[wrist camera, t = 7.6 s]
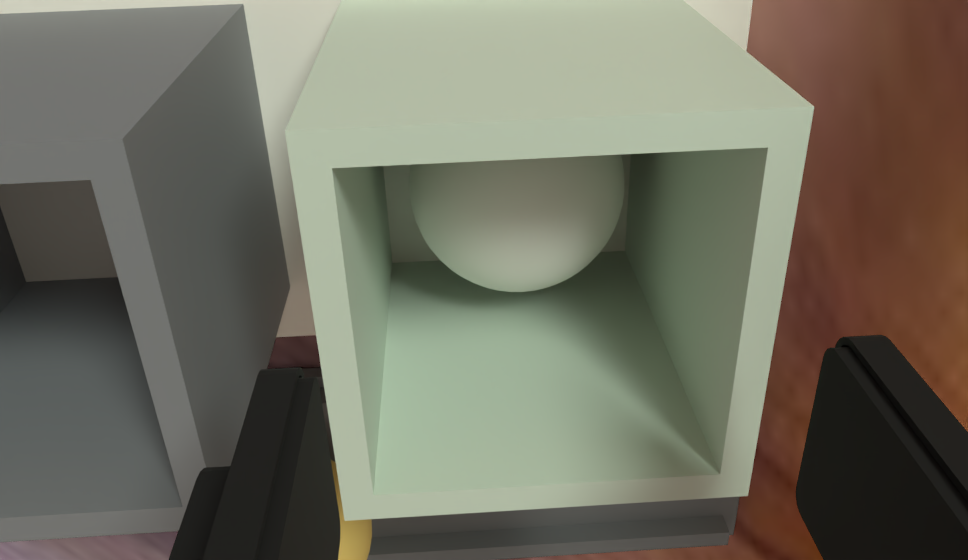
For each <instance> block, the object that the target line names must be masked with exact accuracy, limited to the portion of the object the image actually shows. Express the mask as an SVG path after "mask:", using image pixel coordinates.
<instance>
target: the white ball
mask: <svg viewBox="0 0 968 560" xmlns="http://www.w3.org/2000/svg"><path fill="white" fill-rule="evenodd" d="M409 191H410V199H411V205H412V211H413V214H414V217H415V220H416V223H417V225H418V227H419V229H420V232H421V234H422V236H423V238H424V240H425V241H426V243H427V244H428V246H429V247H430V249H431V250H432V251H433V252H434V253H435V255H436V256H437V257H438V258H439V259H440V260H441V261H442V262H443V263H444V264H445V265H446V266H447V267H448V268H450V269H451V270H452V271H454V272H455V273H456V274H458V275H459V276H461V277H463V278H465V279H467V280H469V281H471V282H473V283H475V284H477V285H480V286H483V287H486V288H489V289H494V290H498V291H506V292H526V291H535V290H539V289H544V288H547V287H550V286H553V285H556V284H558V283H561V282H563V281H565V280H567V279H569V278H570V277H572V276H574V275H575V274H577V273H578V272H580V271H581V270H582V269H583V268H585V267H586V266H587V265H588V264H589V263H590V262H591V261H592V260H593V259H594V258H595V257H596V256H597V255H598V254H599V253H600V251H601V250H602V249H603V247H604V246H605V245H606V244H607V242H608V240H609V238H610V237H611V235H612V233H613V231H614V229H615V226H616V224H617V222H618V219H619V216H620V212H621V208H622V205H623V198H624V169H623V162H622V158H621V155H600V156H579V157H558V158H537V159H516V160H495V161H475V162H454V163H433V164H412V165H411V169H410V177H409Z"/></svg>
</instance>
